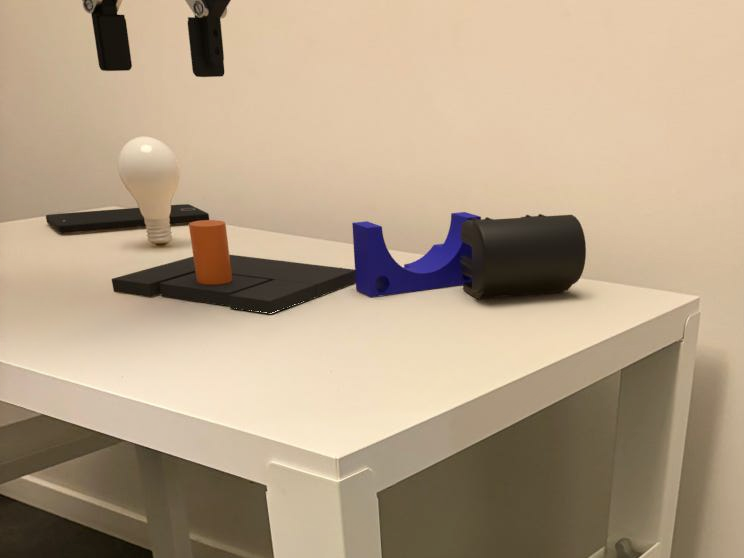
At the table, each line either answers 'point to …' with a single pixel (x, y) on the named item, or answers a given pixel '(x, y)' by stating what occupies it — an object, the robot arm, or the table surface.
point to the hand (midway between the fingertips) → (161, 73)
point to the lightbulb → (151, 183)
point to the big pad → (280, 292)
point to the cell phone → (118, 218)
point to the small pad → (205, 290)
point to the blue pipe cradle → (428, 272)
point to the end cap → (522, 255)
